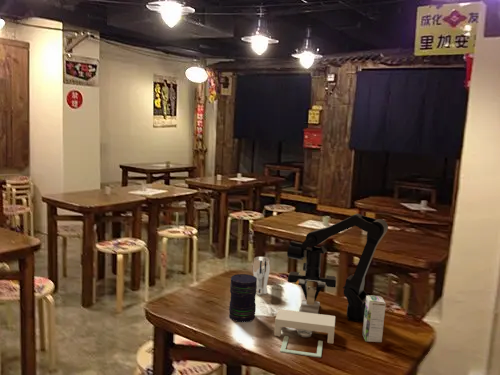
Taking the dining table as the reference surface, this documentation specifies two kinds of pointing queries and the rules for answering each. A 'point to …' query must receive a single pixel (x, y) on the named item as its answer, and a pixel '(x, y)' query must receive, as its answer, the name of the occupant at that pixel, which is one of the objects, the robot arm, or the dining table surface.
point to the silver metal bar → (310, 302)
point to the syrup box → (373, 319)
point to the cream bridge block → (305, 322)
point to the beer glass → (261, 274)
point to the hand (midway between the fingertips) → (310, 299)
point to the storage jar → (242, 298)
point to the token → (304, 333)
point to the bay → (283, 349)
